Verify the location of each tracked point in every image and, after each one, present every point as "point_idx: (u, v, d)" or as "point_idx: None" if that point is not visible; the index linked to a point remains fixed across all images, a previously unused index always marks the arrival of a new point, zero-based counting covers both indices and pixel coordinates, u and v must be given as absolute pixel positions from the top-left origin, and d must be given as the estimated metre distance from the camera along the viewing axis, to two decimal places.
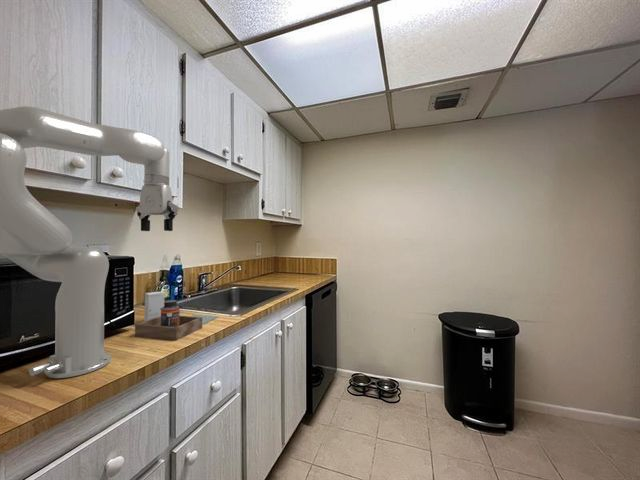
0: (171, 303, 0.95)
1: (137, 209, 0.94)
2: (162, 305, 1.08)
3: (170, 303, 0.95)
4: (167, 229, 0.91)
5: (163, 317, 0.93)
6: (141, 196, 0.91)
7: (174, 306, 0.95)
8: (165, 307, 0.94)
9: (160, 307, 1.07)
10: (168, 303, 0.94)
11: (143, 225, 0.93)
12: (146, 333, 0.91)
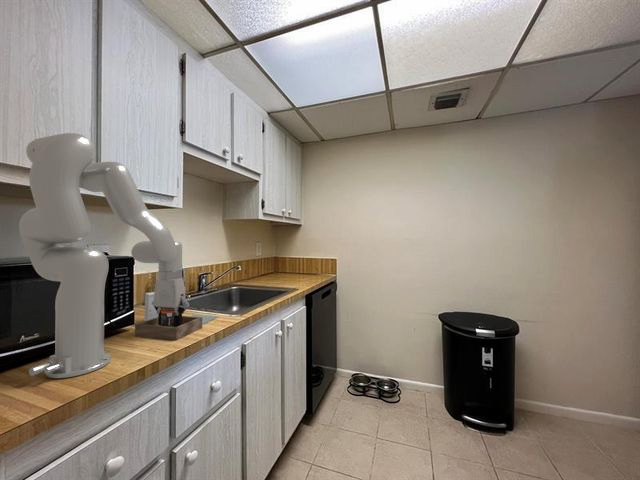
0: None
1: (153, 303, 0.97)
2: None
3: None
4: (177, 324, 0.95)
5: (163, 317, 0.93)
6: (155, 290, 0.95)
7: None
8: None
9: None
10: None
11: (160, 319, 0.96)
12: (146, 333, 0.91)
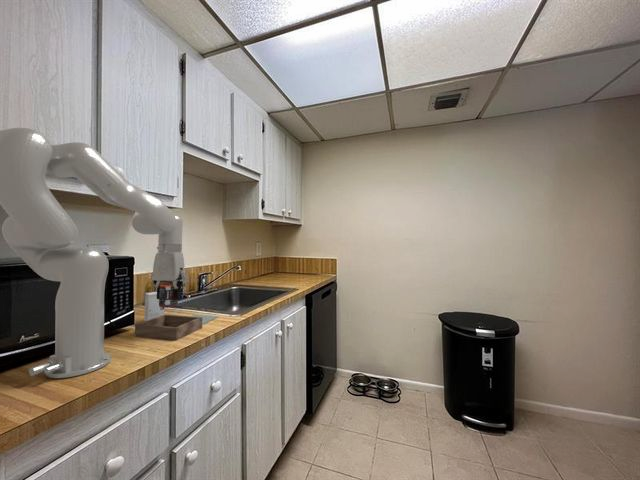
0: None
1: (152, 278, 0.97)
2: None
3: None
4: (175, 298, 0.94)
5: (162, 290, 0.93)
6: (154, 263, 0.94)
7: None
8: (164, 281, 0.94)
9: (160, 307, 1.07)
10: None
11: None
12: (146, 333, 0.91)
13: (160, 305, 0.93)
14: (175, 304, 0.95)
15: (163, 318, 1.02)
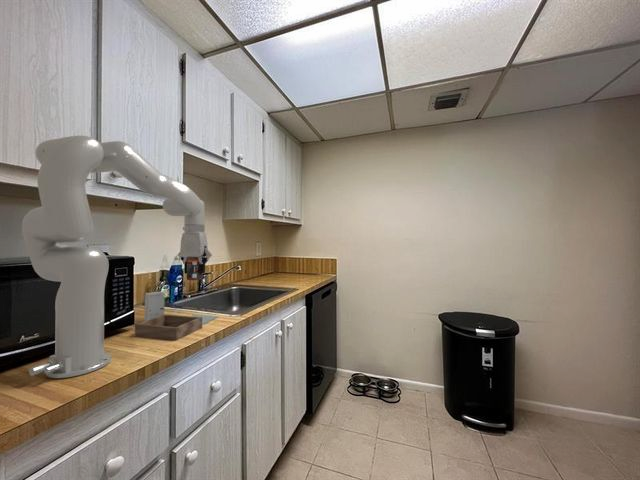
0: None
1: (179, 255, 1.10)
2: (162, 305, 1.08)
3: None
4: (201, 272, 1.07)
5: (189, 265, 1.06)
6: (182, 242, 1.07)
7: None
8: (190, 257, 1.07)
9: (160, 307, 1.07)
10: None
11: (186, 268, 1.08)
12: (146, 333, 0.91)
13: (188, 278, 1.06)
14: (201, 277, 1.08)
15: (163, 318, 1.02)
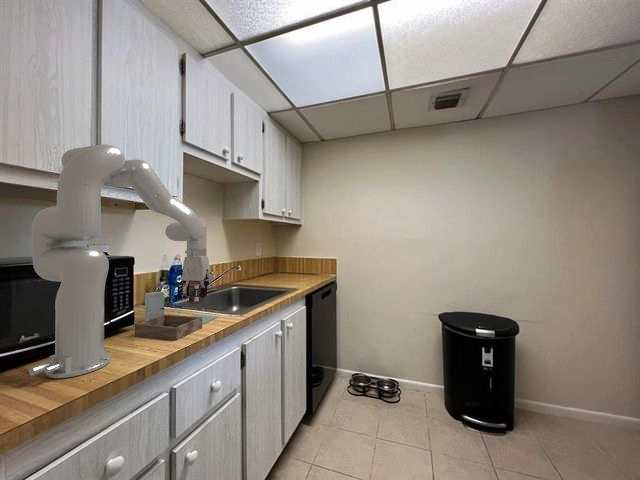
0: None
1: (181, 278, 1.11)
2: (162, 305, 1.08)
3: None
4: (203, 296, 1.08)
5: (191, 289, 1.07)
6: (184, 266, 1.08)
7: None
8: None
9: (160, 307, 1.07)
10: None
11: (188, 292, 1.09)
12: (146, 333, 0.91)
13: (190, 301, 1.07)
14: (203, 300, 1.09)
15: (163, 318, 1.02)
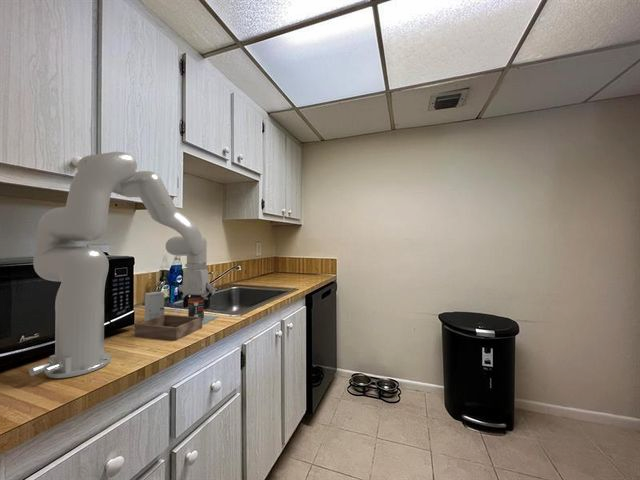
0: None
1: (179, 288, 1.11)
2: (162, 305, 1.08)
3: None
4: (206, 308, 1.08)
5: (191, 306, 1.07)
6: (184, 280, 1.08)
7: (199, 297, 1.09)
8: (192, 297, 1.08)
9: (160, 307, 1.07)
10: None
11: (185, 303, 1.10)
12: (146, 333, 0.91)
13: None
14: (202, 317, 1.09)
15: (163, 318, 1.02)
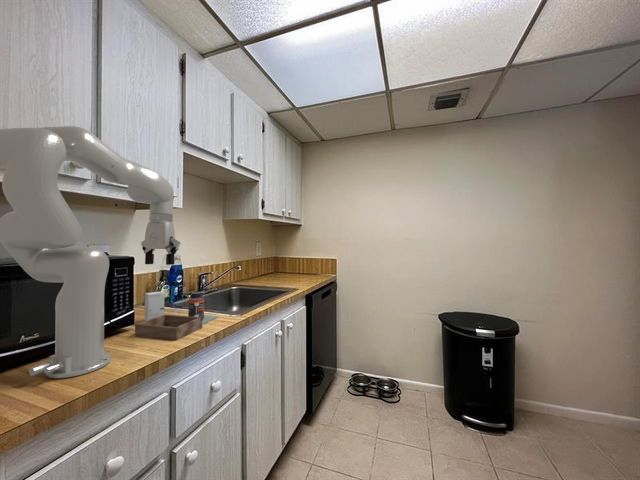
0: (198, 294, 1.08)
1: (142, 244, 1.01)
2: (162, 305, 1.08)
3: (197, 294, 1.08)
4: (169, 263, 0.98)
5: (191, 306, 1.07)
6: (146, 232, 0.99)
7: (200, 297, 1.09)
8: (192, 298, 1.08)
9: (160, 307, 1.07)
10: (195, 294, 1.08)
11: (147, 259, 1.00)
12: (146, 333, 0.91)
13: None
14: (202, 318, 1.09)
15: (163, 318, 1.02)
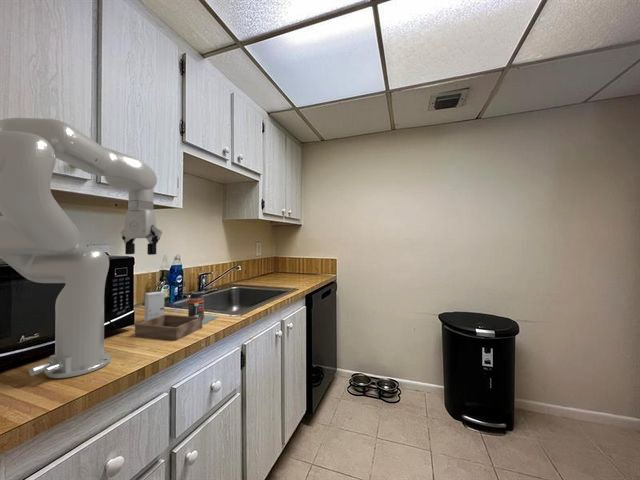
0: (197, 294, 1.08)
1: (122, 233, 0.97)
2: (162, 305, 1.08)
3: (196, 294, 1.08)
4: (150, 253, 0.94)
5: (191, 306, 1.07)
6: (125, 221, 0.94)
7: (200, 297, 1.09)
8: (192, 298, 1.08)
9: (160, 307, 1.07)
10: (195, 294, 1.08)
11: (127, 249, 0.96)
12: (146, 333, 0.91)
13: None
14: (202, 318, 1.09)
15: (163, 318, 1.02)
